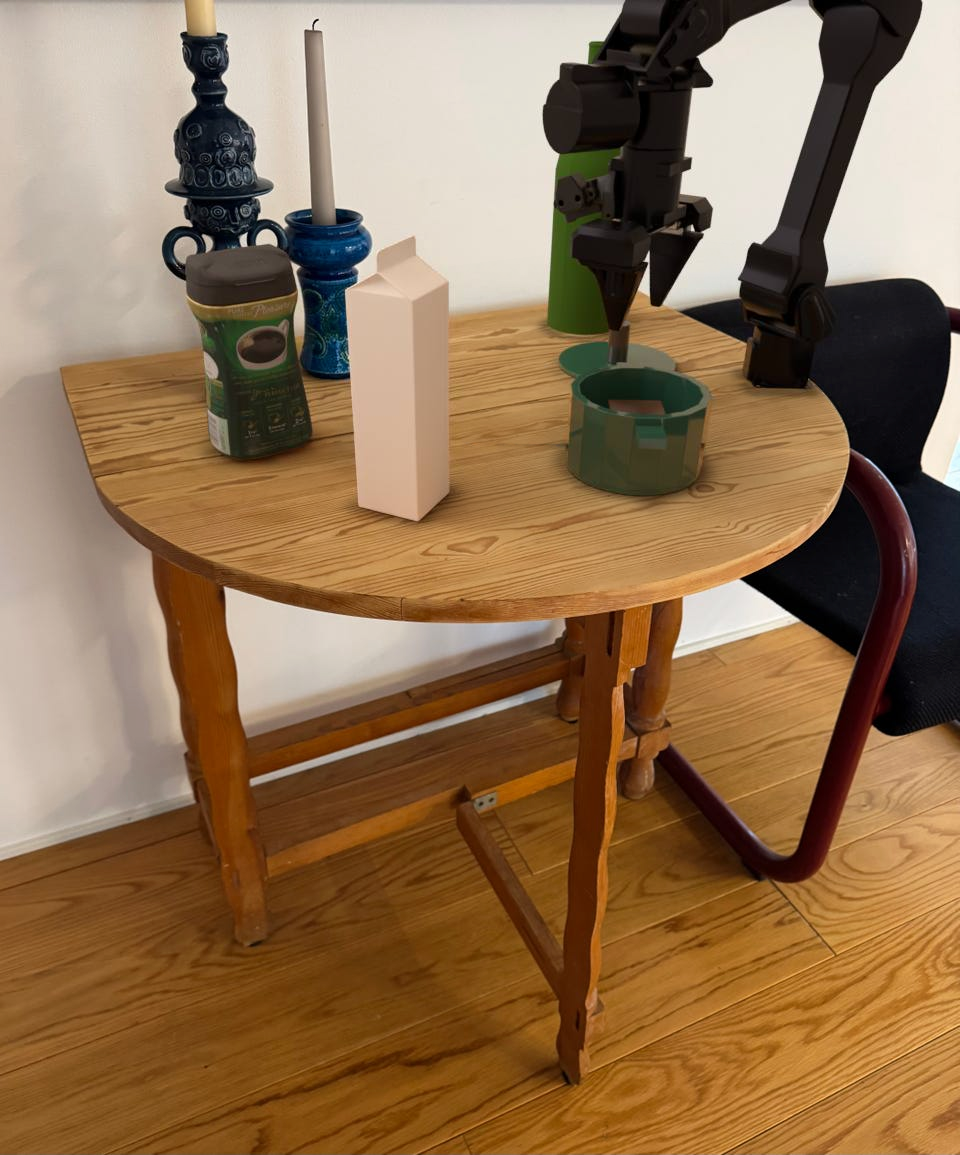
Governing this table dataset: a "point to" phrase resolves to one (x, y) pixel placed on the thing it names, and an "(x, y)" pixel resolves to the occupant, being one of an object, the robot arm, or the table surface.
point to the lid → (611, 354)
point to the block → (637, 406)
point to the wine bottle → (570, 283)
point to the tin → (637, 430)
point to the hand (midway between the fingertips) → (635, 317)
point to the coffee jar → (249, 350)
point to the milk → (400, 383)
